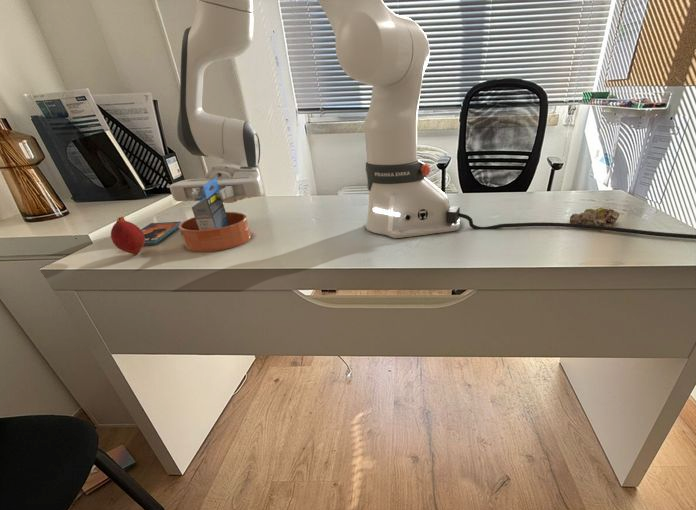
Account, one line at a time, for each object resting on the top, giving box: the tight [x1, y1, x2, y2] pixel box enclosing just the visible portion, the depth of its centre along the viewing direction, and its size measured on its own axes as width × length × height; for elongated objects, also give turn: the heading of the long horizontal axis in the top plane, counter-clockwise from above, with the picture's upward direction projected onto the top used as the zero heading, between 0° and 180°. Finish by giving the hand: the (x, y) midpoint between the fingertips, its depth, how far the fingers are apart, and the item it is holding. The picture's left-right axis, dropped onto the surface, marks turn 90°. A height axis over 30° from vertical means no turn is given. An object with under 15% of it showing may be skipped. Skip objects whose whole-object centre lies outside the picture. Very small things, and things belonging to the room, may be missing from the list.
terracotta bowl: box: [177, 211, 252, 253], centre depth 88 cm, size 14×14×4 cm
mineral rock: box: [569, 207, 620, 227], centre depth 88 cm, size 11×4×8 cm
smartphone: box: [141, 221, 183, 246], centre depth 94 cm, size 8×1×15 cm
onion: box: [110, 215, 145, 256], centre depth 81 cm, size 6×6×8 cm
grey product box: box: [191, 178, 230, 230], centre depth 85 cm, size 9×4×12 cm, turn 5°
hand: (207, 196), depth 84 cm, fingers closed on grey product box, 4 cm apart
